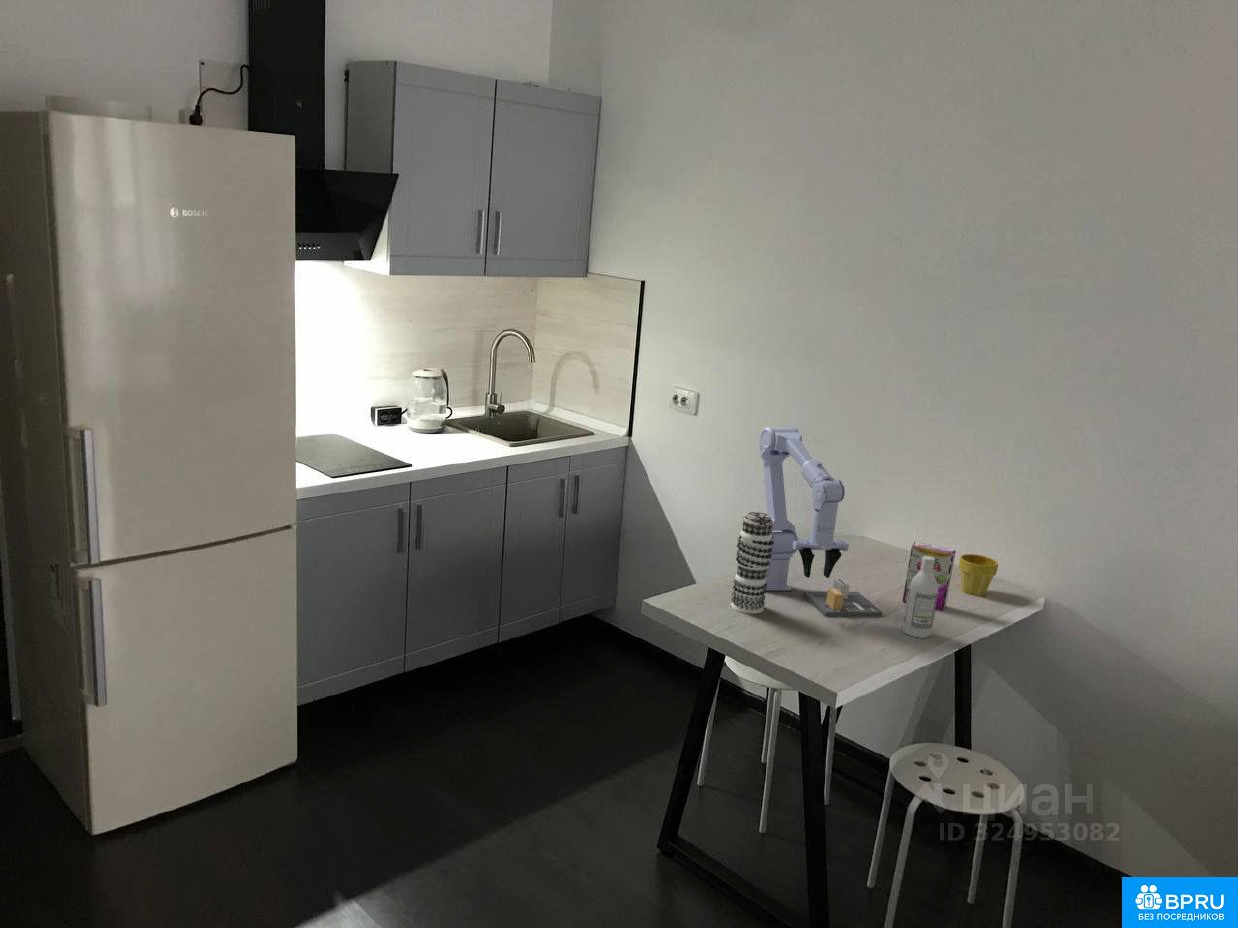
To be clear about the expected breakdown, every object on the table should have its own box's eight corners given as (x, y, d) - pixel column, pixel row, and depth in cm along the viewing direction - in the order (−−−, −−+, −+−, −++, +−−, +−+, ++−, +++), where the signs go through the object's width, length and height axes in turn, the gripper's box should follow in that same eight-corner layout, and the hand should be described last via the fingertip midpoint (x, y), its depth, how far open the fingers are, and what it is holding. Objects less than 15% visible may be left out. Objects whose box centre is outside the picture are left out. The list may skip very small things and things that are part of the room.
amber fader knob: (832, 609, 268) (835, 593, 267) (825, 602, 272) (828, 587, 271) (841, 609, 268) (843, 594, 268) (834, 602, 273) (836, 587, 272)
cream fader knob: (838, 598, 276) (840, 584, 275) (831, 592, 280) (834, 578, 280) (847, 598, 277) (849, 584, 276) (840, 592, 281) (842, 578, 280)
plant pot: (987, 601, 289) (993, 568, 287) (950, 591, 295) (955, 558, 292) (996, 592, 298) (1002, 560, 295) (960, 583, 303) (966, 551, 301)
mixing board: (825, 616, 266) (825, 611, 266) (802, 595, 280) (803, 591, 280) (882, 616, 270) (882, 612, 269) (857, 595, 284) (857, 591, 283)
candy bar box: (901, 602, 282) (911, 545, 278) (905, 597, 286) (914, 540, 283) (943, 611, 278) (953, 553, 274) (946, 606, 282) (956, 549, 278)
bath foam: (936, 637, 259) (949, 561, 254) (915, 639, 255) (927, 563, 251) (917, 626, 265) (929, 552, 260) (896, 629, 262) (908, 554, 257)
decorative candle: (770, 606, 269) (782, 514, 264) (757, 616, 261) (769, 522, 256) (737, 598, 273) (748, 507, 268) (724, 607, 265) (735, 514, 260)
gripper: (802, 530, 259) (796, 581, 262) (856, 531, 262) (848, 581, 265) (792, 521, 265) (785, 571, 268) (844, 523, 269) (837, 572, 272)
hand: (816, 576), depth 267 cm, fingers open, 5 cm apart
